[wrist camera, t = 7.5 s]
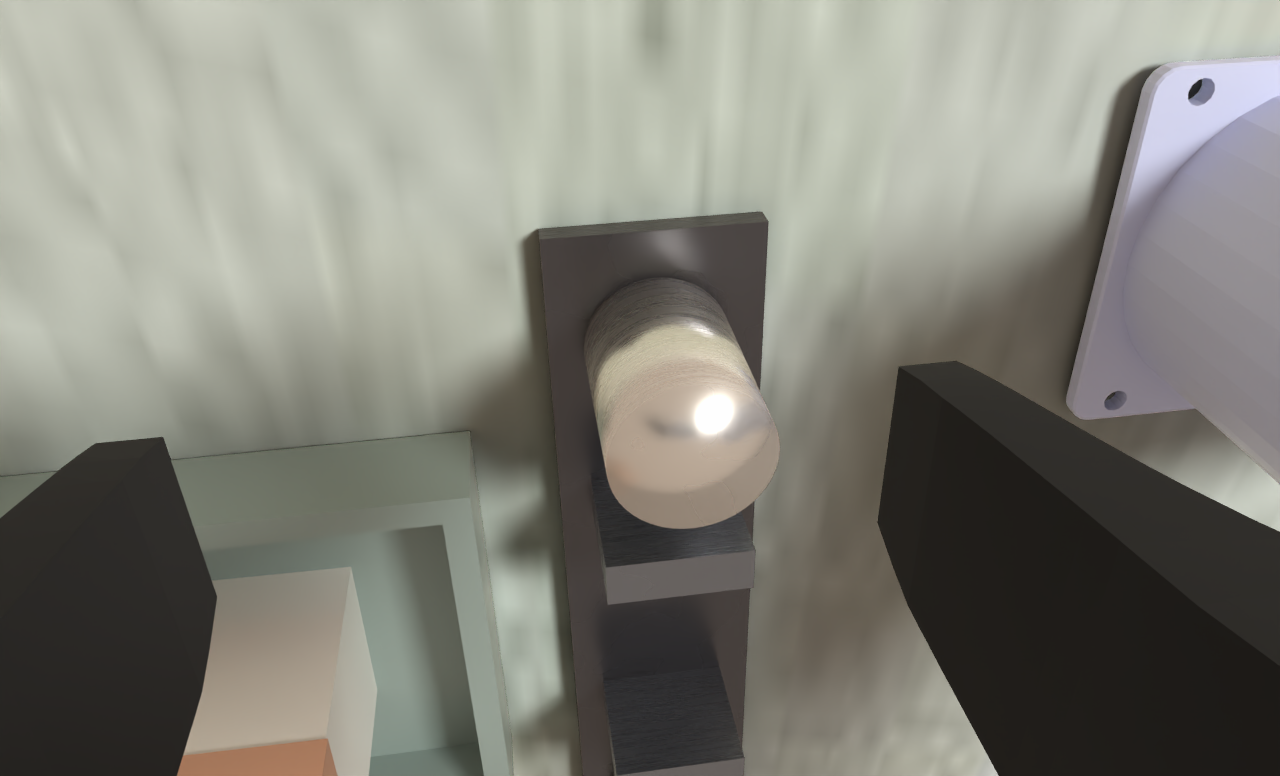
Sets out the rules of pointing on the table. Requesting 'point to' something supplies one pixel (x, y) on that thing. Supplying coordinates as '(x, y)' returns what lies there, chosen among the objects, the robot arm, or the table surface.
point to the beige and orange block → (285, 680)
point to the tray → (373, 577)
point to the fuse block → (659, 480)
